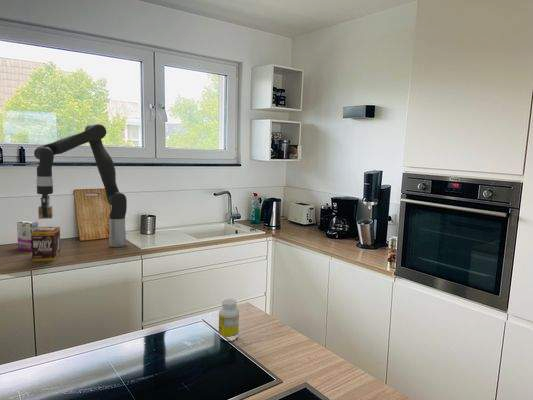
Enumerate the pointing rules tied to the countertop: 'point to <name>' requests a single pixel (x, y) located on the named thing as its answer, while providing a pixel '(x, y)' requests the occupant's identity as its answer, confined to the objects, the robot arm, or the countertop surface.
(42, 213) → the walnut block
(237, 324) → the supplement bottle
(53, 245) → the supplement box
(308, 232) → the countertop surface
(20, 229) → the candy bar box
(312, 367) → the countertop surface
